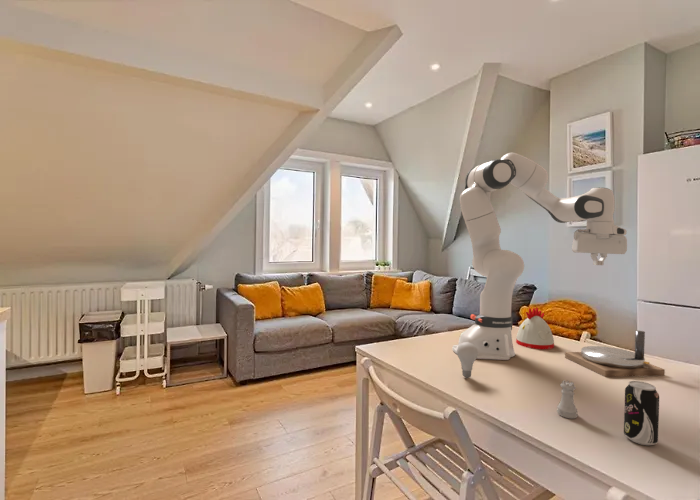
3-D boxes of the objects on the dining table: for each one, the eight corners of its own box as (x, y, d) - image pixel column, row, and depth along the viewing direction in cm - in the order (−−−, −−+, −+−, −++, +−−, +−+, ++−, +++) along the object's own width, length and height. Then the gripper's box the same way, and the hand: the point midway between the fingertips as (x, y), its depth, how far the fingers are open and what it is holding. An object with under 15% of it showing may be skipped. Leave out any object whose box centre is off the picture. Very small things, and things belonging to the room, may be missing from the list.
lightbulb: (477, 375, 116) (477, 340, 115) (477, 382, 110) (477, 346, 110) (456, 373, 118) (457, 338, 117) (455, 380, 112) (456, 344, 112)
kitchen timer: (509, 340, 157) (509, 305, 157) (536, 339, 160) (537, 304, 160) (532, 350, 144) (533, 312, 143) (562, 348, 147) (563, 310, 146)
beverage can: (616, 433, 81) (618, 379, 81) (641, 433, 82) (643, 379, 81) (638, 448, 76) (640, 390, 75) (665, 447, 76) (667, 389, 76)
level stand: (605, 376, 116) (605, 369, 116) (565, 357, 135) (565, 351, 135) (664, 375, 117) (664, 368, 117) (616, 356, 136) (616, 350, 136)
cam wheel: (574, 358, 127) (574, 326, 126) (589, 348, 138) (590, 319, 138) (643, 373, 113) (644, 337, 112) (654, 361, 124) (655, 328, 124)
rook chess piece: (552, 410, 92) (553, 379, 92) (569, 410, 92) (570, 378, 92) (564, 419, 88) (565, 386, 87) (582, 419, 88) (583, 385, 88)
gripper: (579, 228, 140) (578, 264, 141) (630, 230, 142) (629, 266, 142) (568, 229, 147) (567, 263, 147) (617, 231, 148) (616, 265, 148)
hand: (598, 265), depth 144 cm, fingers closed
